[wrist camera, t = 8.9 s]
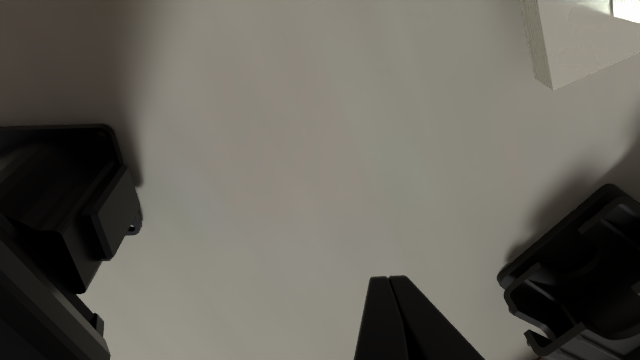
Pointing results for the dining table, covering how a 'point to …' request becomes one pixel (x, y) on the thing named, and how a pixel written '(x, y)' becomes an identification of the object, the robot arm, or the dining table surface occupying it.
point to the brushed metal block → (627, 9)
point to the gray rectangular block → (575, 38)
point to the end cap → (582, 282)
